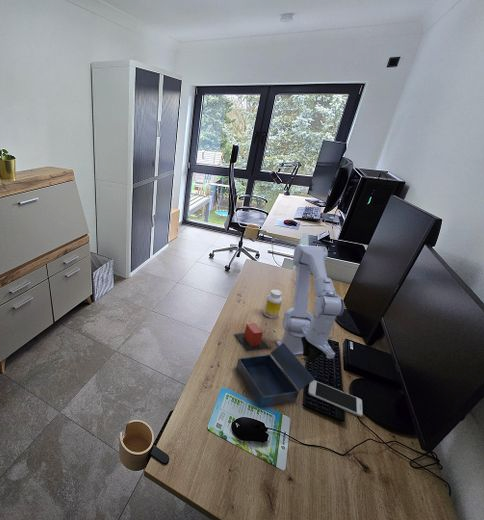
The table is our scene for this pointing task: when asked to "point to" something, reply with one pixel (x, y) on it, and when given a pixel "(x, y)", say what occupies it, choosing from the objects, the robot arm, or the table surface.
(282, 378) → the carton
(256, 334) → the block
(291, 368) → the flap
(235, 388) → the table surface
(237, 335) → the mat
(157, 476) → the table surface
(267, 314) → the supplement bottle
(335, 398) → the smartphone
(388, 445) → the table surface
